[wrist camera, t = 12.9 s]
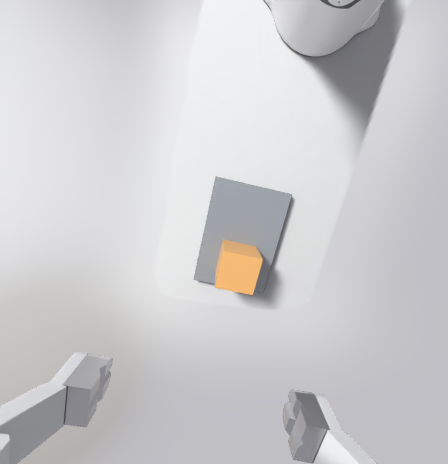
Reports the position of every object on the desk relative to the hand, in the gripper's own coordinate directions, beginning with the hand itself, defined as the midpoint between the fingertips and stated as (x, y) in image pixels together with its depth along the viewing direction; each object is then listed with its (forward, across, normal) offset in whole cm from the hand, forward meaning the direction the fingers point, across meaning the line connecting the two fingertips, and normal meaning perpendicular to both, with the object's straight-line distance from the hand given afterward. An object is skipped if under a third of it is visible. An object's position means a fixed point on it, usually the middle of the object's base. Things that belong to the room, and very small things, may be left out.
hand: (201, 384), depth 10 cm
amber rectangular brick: (+33, -5, +5) cm, 33 cm away
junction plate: (+34, -5, +1) cm, 34 cm away
